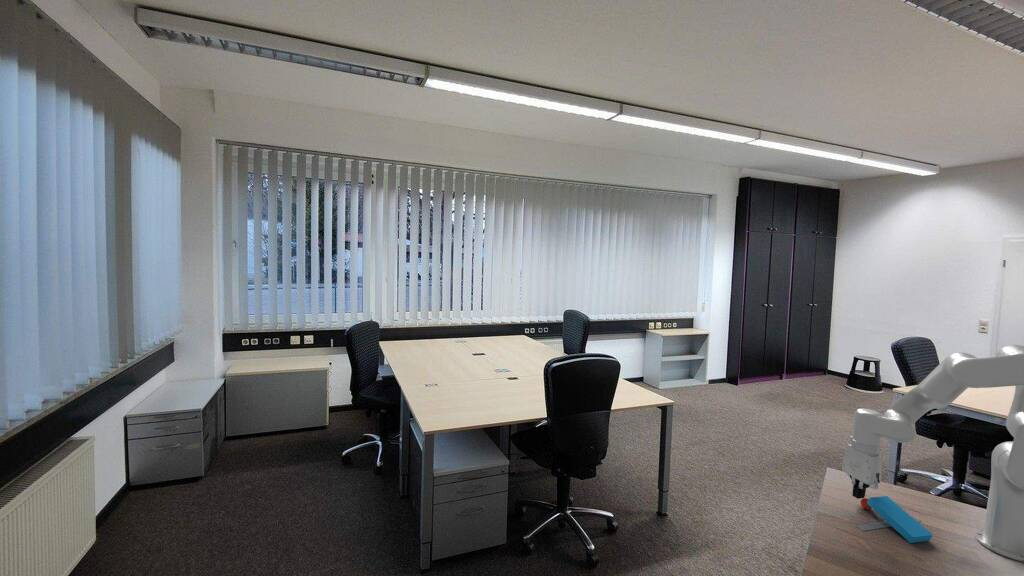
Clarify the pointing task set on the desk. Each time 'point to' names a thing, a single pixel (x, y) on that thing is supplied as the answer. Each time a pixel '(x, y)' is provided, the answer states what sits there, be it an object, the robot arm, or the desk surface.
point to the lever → (897, 518)
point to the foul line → (877, 525)
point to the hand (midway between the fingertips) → (858, 496)
